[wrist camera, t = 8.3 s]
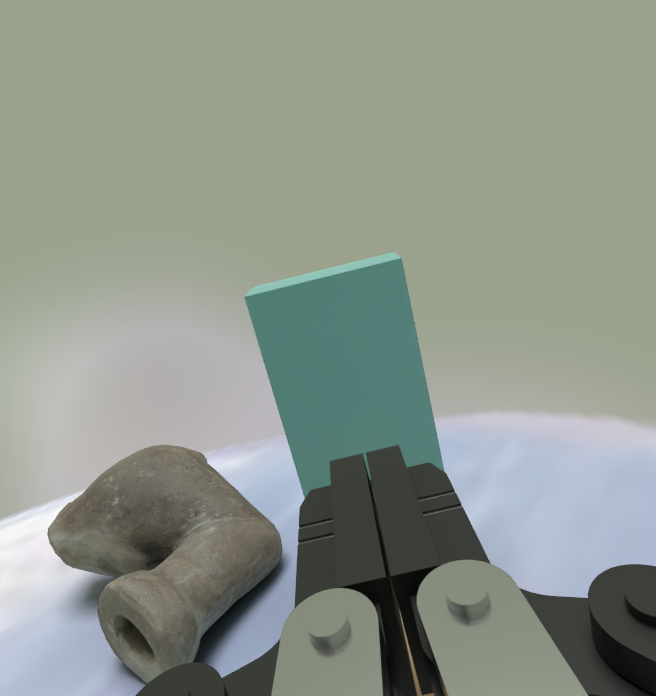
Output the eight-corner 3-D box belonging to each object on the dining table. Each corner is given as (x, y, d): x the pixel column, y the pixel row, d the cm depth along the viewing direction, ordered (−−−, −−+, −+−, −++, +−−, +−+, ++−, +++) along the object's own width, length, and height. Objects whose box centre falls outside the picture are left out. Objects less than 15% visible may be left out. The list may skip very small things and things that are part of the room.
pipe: (276, 623, 36) (143, 510, 42) (334, 520, 37) (193, 420, 42) (126, 755, 21) (-54, 550, 27) (226, 578, 21) (26, 409, 27)
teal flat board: (464, 571, 23) (401, 258, 19) (334, 596, 24) (244, 296, 19) (451, 536, 26) (393, 252, 21) (334, 560, 26) (253, 286, 22)
